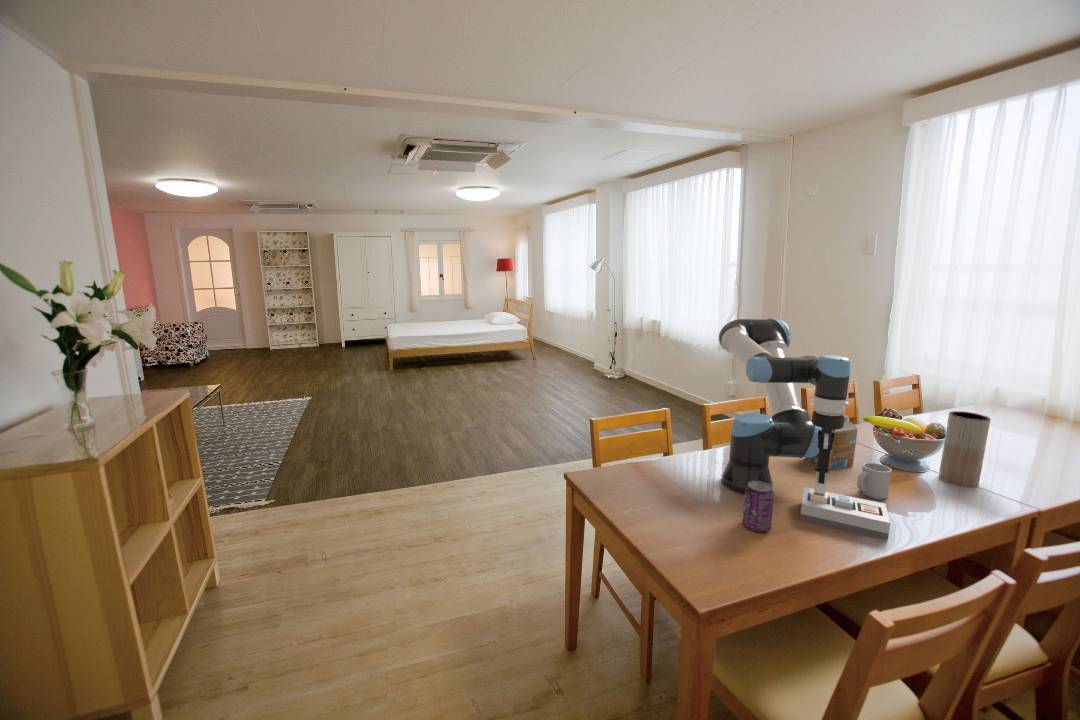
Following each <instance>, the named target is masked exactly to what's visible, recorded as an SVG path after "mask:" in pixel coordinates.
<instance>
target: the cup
mask: <svg viewBox="0 0 1080 720" xmlns="http://www.w3.org/2000/svg"><path fill="white" fill-rule="evenodd" d="M891 476H892V468H891V467H889V466H887V465H884V464H881V463H876V462H865V463H863V465H862V471H861V473H860V474H859V475H858V477H857V482H856V487H857V489H858V490H859V491H860V493H861V494H862V495H863V496H866V497H868V498H872V499H876V500H884V499H887V498H888V496H889V490H890V484H891Z"/></svg>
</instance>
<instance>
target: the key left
mask: <svg viewBox="0 0 1080 720" xmlns="http://www.w3.org/2000/svg"><path fill="white" fill-rule="evenodd" d="M810 489H811V497H810V501H814V502H819V503H823V504H827V492H828V491H826V493H825V494H820V493H815V492H814V490H813V489H814V488H810Z"/></svg>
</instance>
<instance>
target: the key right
mask: <svg viewBox="0 0 1080 720" xmlns="http://www.w3.org/2000/svg"><path fill="white" fill-rule="evenodd" d="M860 511H861V512H866V513H870V514H875V515H879V510H878V508H877V507H872V506H867V505H862V504H860Z"/></svg>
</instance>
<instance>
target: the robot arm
mask: <svg viewBox="0 0 1080 720" xmlns="http://www.w3.org/2000/svg"><path fill="white" fill-rule="evenodd" d="M789 328H790V327H789V326H788V325H787V323H786V322H785V321H783V320H782V319H777V318H776V319H775V318H767V319H761V318H760V319H758V318H757V319H756V318H738V319H734V320H731V321H729V322H727V323H726V324H724V326H723V327H721V330H720V331H719V335H718V342H719V344H720V346H721V348H722V349H723V350H725V351H726V352H727V353H730V354H733V355H734V356H735V357H736V358H737V359H738V360H739V361H740V362H741V363H743V364H744V365H745V374H746V376H747V380H748V381H750V382H752V383H759V384H764V386H765V389H766V392H767V396H768V399H769V404H770V408H771V410H772V415H768V414H764V413H757V412H755V413H754V412H753V413H751V412H750V413H744V414H741V415H738V416H736V417H735V418H733V420H732V424H731V428H730V443H729V444H730V447H729V459H728V462H727V464H726V466H725V468H724V471H723V473H722V475H721V483H722V485H723V486H724V487H725V488H727V489H728V490H730V491H732V492H735V493H738V494H741V495H745V489H746V488H747V486H748V482H751V481H761V482H765V483H768V484H770V485H771V486H772V487H773V488H774V485H773V484H774V482H773V479H772V475H771V471H770V467H769V463H770V457H772V458H773V457H775V458H776V457H780V458H800V459H803V458H805V457H814V456H816V455H817V454H818V453H819V455H818V461H817V463H818V464H816V467H814V472H816V473H815V480H814V488H813V489H814V492H815V493H820V494H825V493H826V492H827V484H828V483H827V481H828V476H829V475H828V473H829V471H831V468H830V467H828V466H829V458H830V450H832V446H833V441H834V438H835V435H834V434H835V432H832V430H833V429H841V428H843V426H844V417H845V416H846V415H844V414H845V412H846V407H848V406H849V405H850V404H849V402H848V401H847V397H848V391H849V384H850V383H849V382H850V378H851V377H850V376H851V359H849V358H848V357H846V356H841V355H834V354H832V355H831V354H829V355H825V354H824V355H821V356H819V357H818V356H814V355H802V356H800V357H786V355H785V354H786V352H787V350H788V348H789V346H790V344H791V337H790V336H791V331H790V329H789ZM795 384H811V385H814V386H815V387H814V396H813V404H812V409H813V411H812V415H811V417H810V414H809V411H807V410H805V409H803V408H802V406H801V402H800V399H799V396H798V393H797V389H796V387H795Z"/></svg>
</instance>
